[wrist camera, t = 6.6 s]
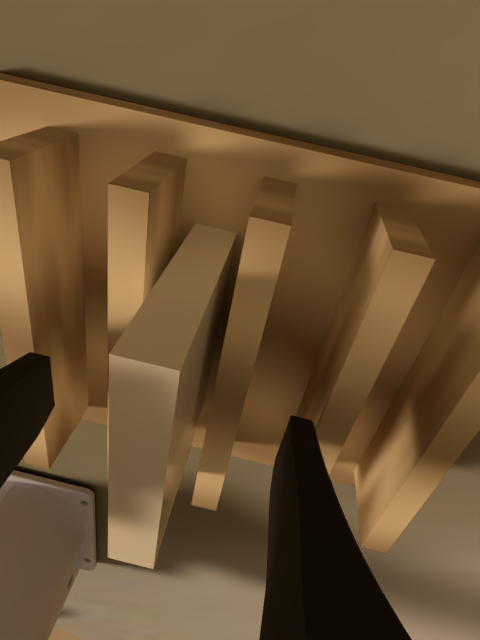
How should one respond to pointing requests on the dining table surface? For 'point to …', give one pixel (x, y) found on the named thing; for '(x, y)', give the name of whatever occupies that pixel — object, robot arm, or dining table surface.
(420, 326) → the rack
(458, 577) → the dining table surface
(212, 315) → the upright beige panel
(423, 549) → the dining table surface
